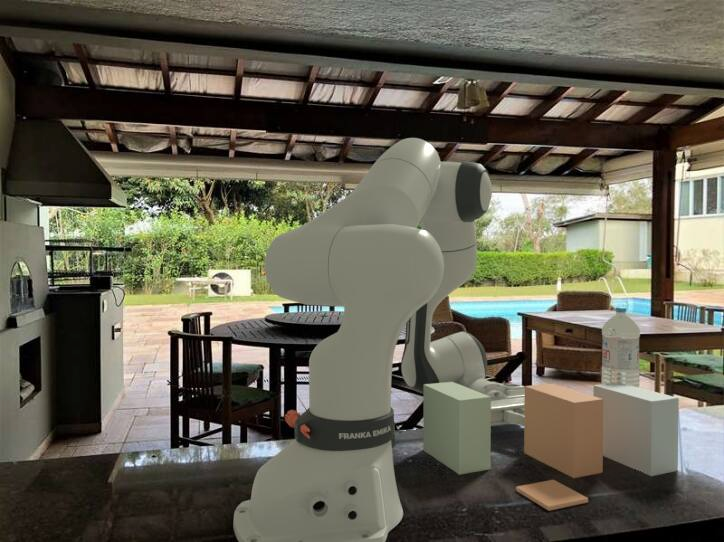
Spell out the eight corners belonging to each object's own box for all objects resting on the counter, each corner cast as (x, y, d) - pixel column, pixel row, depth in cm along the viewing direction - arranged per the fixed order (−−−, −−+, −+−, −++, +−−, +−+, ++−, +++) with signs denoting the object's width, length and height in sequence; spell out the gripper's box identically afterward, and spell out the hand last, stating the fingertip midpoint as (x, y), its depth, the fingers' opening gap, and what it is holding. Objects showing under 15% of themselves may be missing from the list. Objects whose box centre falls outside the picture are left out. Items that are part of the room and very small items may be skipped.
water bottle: (635, 440, 103) (636, 309, 102) (597, 433, 107) (598, 307, 106) (642, 431, 108) (643, 307, 108) (605, 425, 112) (606, 305, 112)
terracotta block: (573, 478, 85) (574, 402, 85) (524, 453, 96) (524, 386, 96) (602, 472, 87) (603, 399, 87) (550, 448, 98) (551, 383, 98)
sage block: (459, 474, 87) (459, 400, 86) (423, 450, 98) (423, 384, 97) (490, 469, 89) (490, 396, 89) (452, 446, 100) (452, 381, 100)
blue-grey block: (651, 476, 86) (651, 401, 86) (592, 451, 97) (593, 385, 97) (677, 470, 88) (678, 397, 88) (617, 447, 99) (618, 382, 99)
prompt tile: (548, 510, 74) (548, 506, 74) (516, 490, 80) (516, 486, 80) (588, 502, 76) (588, 498, 76) (553, 483, 83) (553, 479, 83)
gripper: (443, 392, 108) (483, 409, 95) (526, 383, 115) (574, 398, 102) (443, 423, 108) (483, 445, 95) (526, 413, 115) (574, 432, 102)
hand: (531, 421), depth 99 cm, fingers closed
